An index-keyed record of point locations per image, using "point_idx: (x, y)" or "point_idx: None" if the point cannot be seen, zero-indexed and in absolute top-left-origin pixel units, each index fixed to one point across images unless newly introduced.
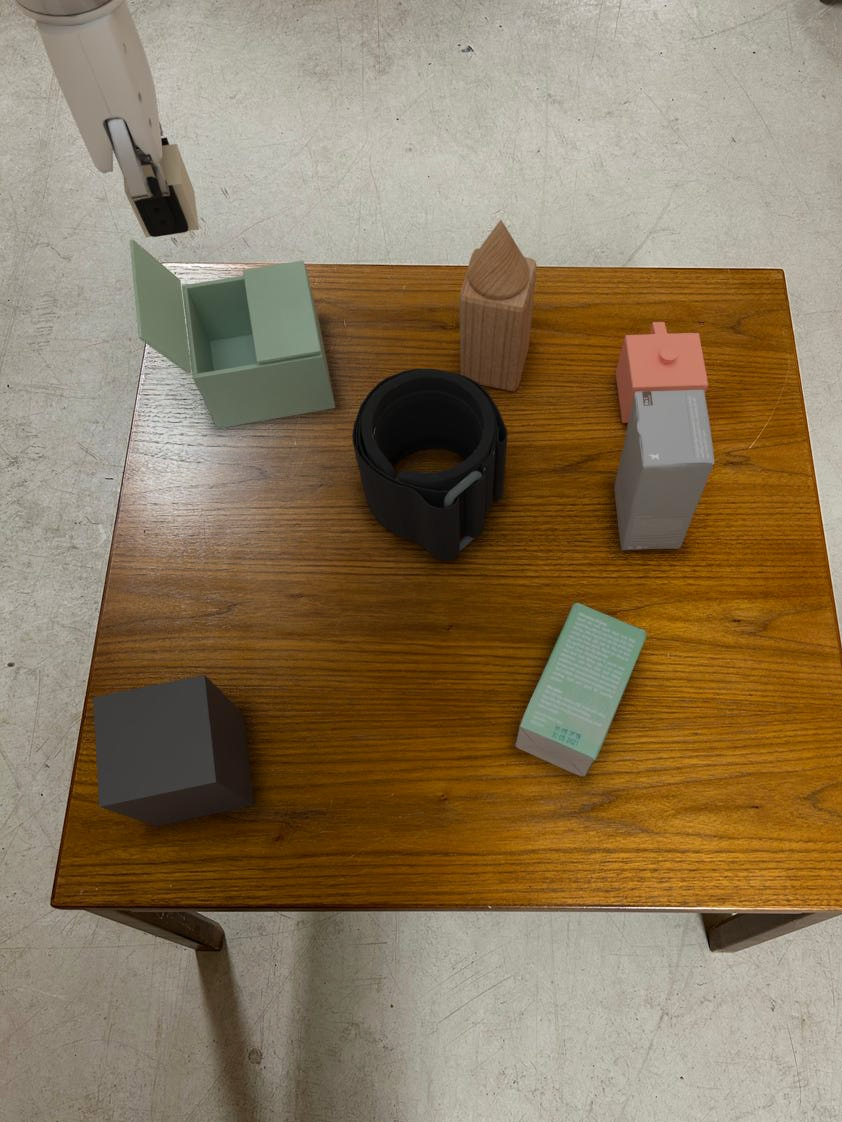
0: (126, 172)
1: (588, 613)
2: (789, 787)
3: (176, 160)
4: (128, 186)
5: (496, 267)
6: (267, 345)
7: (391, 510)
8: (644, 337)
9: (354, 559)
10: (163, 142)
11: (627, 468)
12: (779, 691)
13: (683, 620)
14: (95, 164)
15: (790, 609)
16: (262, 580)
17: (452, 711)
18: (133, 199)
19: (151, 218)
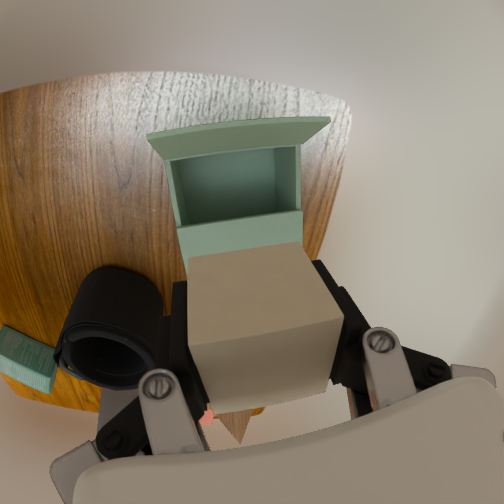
0: None
1: (46, 381)
2: (35, 391)
3: (280, 401)
4: (57, 489)
5: (222, 420)
6: (196, 238)
7: (71, 307)
8: (210, 412)
9: (63, 255)
10: (334, 380)
11: (116, 413)
12: (64, 398)
13: (79, 383)
14: (74, 500)
15: (97, 407)
16: (39, 194)
17: (5, 301)
18: (52, 464)
19: (157, 342)
